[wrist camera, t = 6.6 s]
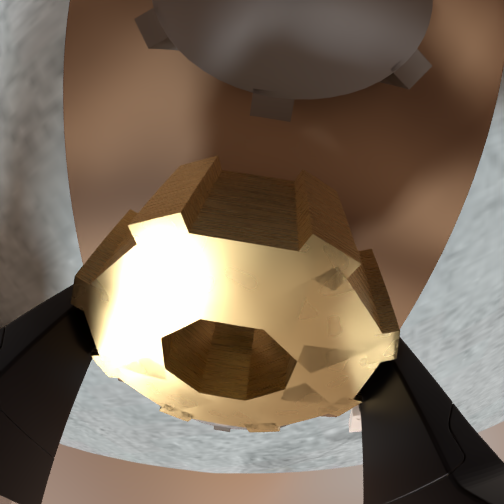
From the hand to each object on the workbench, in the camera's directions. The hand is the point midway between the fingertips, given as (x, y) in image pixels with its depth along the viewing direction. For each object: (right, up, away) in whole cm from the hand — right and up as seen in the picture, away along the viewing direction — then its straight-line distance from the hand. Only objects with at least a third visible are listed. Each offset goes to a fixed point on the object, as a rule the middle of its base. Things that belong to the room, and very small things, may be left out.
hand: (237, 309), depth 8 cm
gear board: (+1, +3, +5) cm, 6 cm away
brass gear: (0, +1, +1) cm, 1 cm away
